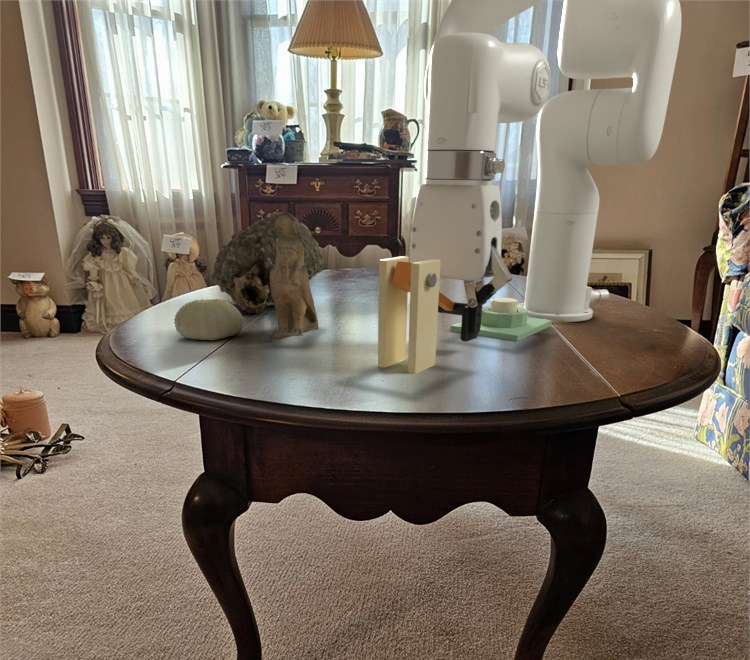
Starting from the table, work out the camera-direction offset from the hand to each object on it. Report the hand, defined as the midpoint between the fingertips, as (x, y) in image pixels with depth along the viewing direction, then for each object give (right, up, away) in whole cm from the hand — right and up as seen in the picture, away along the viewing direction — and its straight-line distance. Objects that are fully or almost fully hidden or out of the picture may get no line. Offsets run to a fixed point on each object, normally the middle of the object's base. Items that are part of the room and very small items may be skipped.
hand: (448, 334), depth 80 cm
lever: (-3, +2, -6) cm, 7 cm away
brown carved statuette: (-20, +3, +12) cm, 24 cm away
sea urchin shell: (-32, +3, +12) cm, 35 cm away
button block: (+9, +3, +13) cm, 16 cm away
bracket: (-5, -6, -5) cm, 10 cm away
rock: (-28, +12, +31) cm, 44 cm away
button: (+9, +6, +11) cm, 15 cm away
